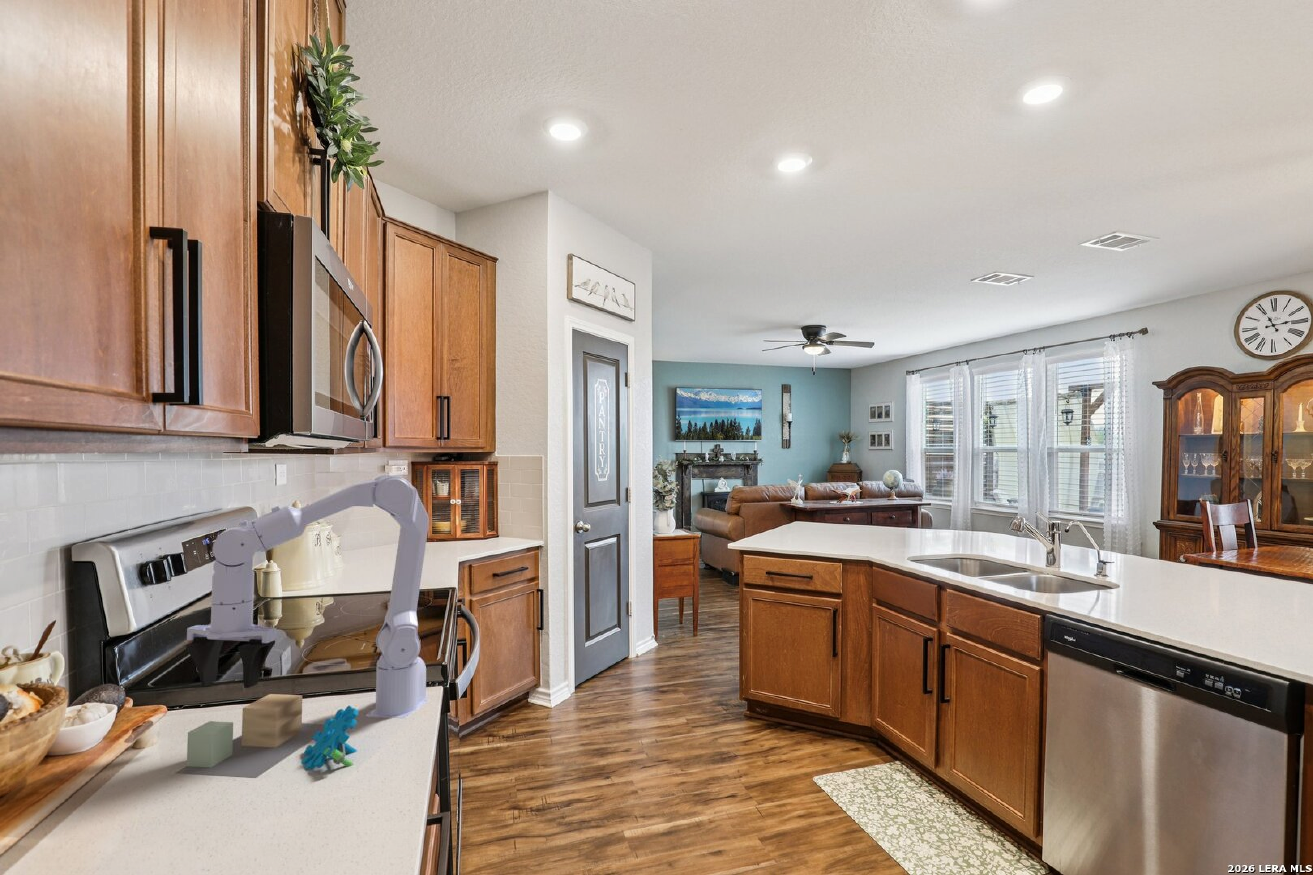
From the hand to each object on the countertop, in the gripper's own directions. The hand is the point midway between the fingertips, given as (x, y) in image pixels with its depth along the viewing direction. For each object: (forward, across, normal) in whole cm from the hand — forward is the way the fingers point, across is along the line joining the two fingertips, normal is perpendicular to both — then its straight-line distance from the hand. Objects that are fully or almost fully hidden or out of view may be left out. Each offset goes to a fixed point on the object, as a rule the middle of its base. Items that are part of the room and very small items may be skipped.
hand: (229, 684), depth 99 cm
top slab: (+6, +6, +2) cm, 9 cm away
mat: (+10, +6, -1) cm, 12 cm away
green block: (+9, +2, -6) cm, 11 cm away
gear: (+10, +20, -3) cm, 23 cm away
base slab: (+9, +6, +2) cm, 11 cm away
